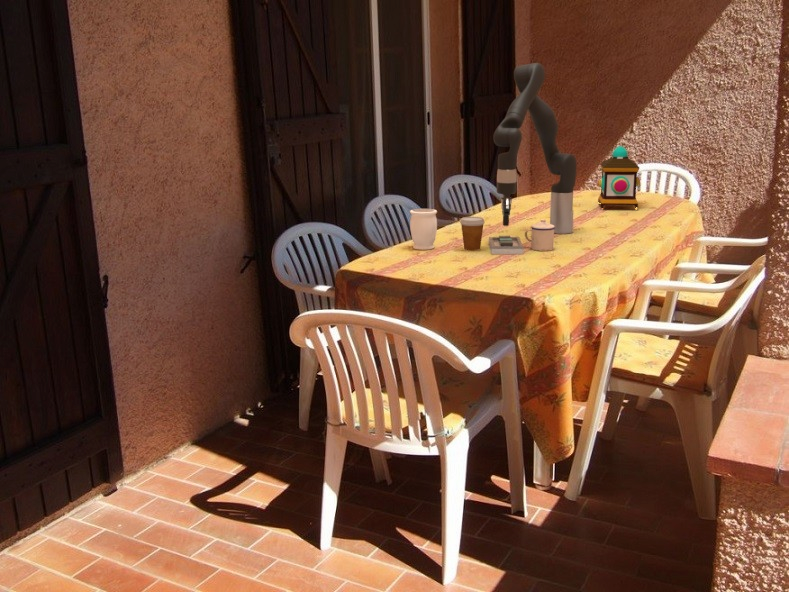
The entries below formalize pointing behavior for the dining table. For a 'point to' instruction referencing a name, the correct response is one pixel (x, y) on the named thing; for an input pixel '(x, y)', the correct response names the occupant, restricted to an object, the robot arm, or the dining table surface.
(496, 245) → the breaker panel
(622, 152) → the decorative lantern
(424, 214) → the jar
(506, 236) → the grey rectangular prism
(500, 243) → the teal rectangular box
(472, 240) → the disposable coffee cup
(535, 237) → the teacup with lid
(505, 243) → the dark taupe block
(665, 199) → the dining table surface
